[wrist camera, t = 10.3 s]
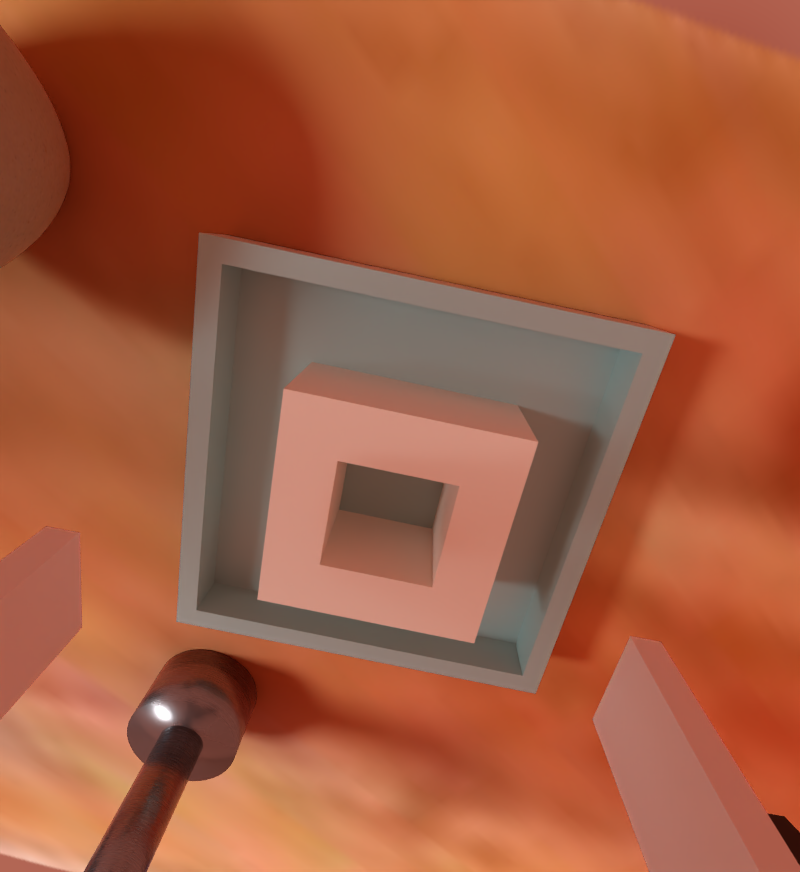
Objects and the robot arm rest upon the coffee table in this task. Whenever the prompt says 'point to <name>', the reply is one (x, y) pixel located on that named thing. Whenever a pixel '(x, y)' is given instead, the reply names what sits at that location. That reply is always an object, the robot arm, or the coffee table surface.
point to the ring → (380, 538)
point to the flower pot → (27, 155)
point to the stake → (176, 750)
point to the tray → (387, 491)
